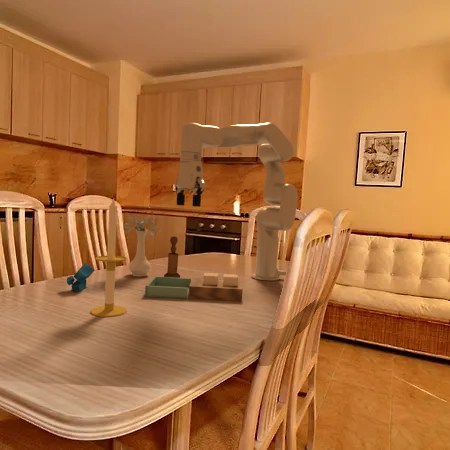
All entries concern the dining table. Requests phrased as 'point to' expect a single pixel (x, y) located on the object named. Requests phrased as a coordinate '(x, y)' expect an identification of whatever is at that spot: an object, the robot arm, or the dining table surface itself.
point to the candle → (110, 270)
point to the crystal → (80, 277)
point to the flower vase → (140, 244)
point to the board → (214, 290)
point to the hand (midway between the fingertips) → (188, 205)
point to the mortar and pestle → (172, 260)
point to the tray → (168, 287)
